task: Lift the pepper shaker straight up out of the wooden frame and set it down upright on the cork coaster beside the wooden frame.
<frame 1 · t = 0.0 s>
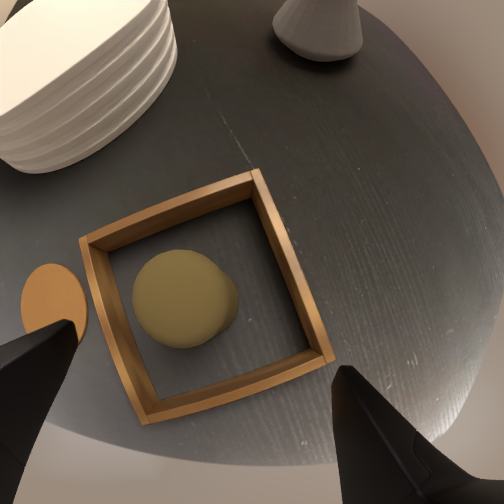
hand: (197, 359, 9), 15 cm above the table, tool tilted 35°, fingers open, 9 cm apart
plate stack: (77, 81, 28), on the table
pepper shaker: (203, 301, 24), resting in wooden frame
coaster: (52, 309, 23), on the table
wooden frame: (203, 301, 24), on the table
coffee pot: (293, 26, 31), on the table
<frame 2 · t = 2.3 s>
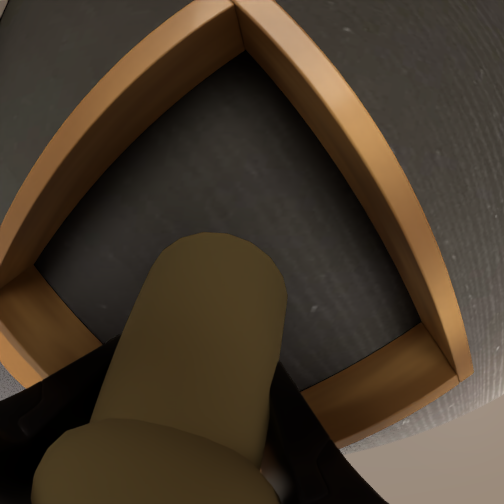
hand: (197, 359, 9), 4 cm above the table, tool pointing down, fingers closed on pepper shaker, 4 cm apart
pepper shaker: (215, 298, 12), resting in wooden frame, touching gripper
coaster: (26, 355, 15), on the table
wooden frame: (215, 300, 12), on the table
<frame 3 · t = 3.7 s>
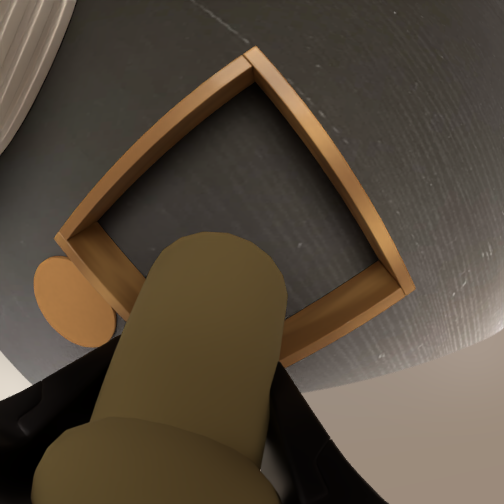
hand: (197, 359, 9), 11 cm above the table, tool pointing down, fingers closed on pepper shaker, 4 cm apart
pepper shaker: (215, 298, 12), point 7 cm above the table, touching gripper
coaster: (72, 303, 22), on the table
wooden frame: (234, 238, 19), on the table
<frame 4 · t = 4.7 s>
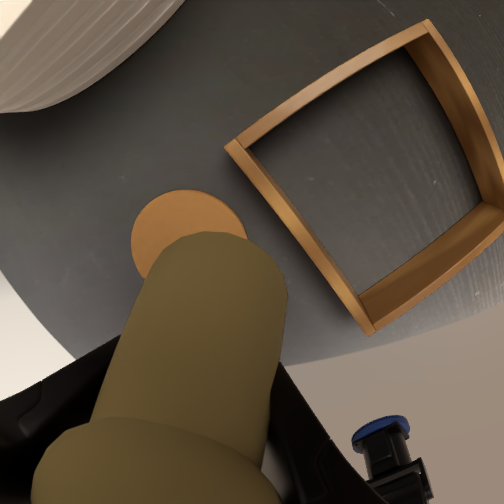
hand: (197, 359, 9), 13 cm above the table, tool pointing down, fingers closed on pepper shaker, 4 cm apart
pepper shaker: (216, 297, 12), point 9 cm above the table, touching gripper
coaster: (188, 250, 21), on the table
wooden frame: (388, 172, 18), on the table
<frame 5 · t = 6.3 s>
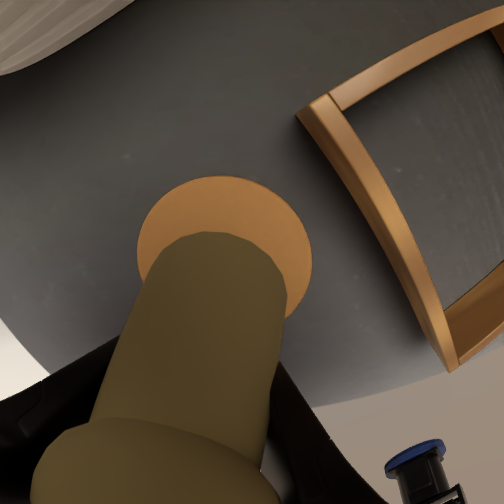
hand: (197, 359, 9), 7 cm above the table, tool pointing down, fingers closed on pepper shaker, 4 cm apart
pepper shaker: (215, 297, 12), point 3 cm above the table, touching gripper
coaster: (222, 264, 15), on the table
wooden frame: (479, 169, 12), on the table
when the fingers open (4 cm above the table, at t = 7.4 s): pepper shaker stays where it is, resting on coaster.
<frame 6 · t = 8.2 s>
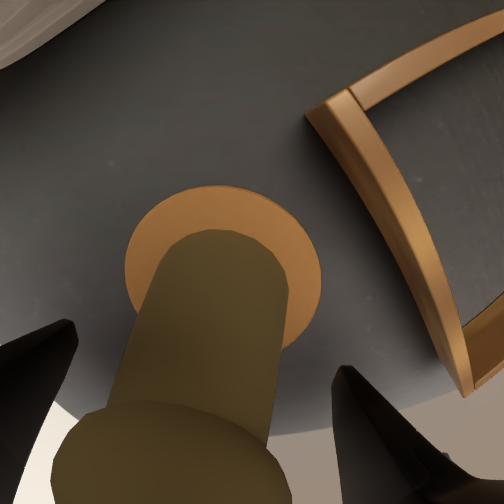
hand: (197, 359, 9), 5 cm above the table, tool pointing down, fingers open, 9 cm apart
pepper shaker: (220, 292, 13), resting on coaster
coaster: (219, 285, 13), on the table
wooden frame: (502, 178, 10), on the table
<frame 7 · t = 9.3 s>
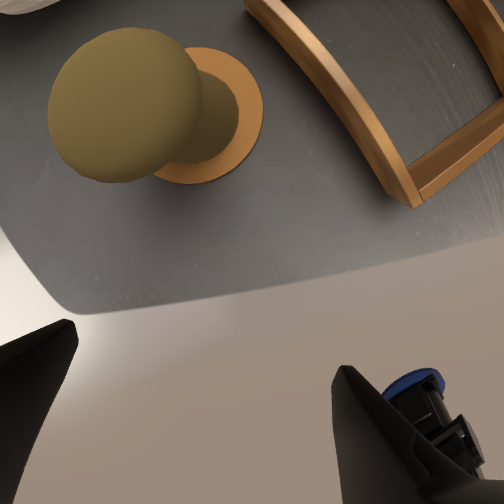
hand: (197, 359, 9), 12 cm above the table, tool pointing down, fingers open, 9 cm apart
pepper shaker: (190, 117, 16), resting on coaster
coaster: (190, 113, 17), on the table
wooden frame: (407, 45, 14), on the table
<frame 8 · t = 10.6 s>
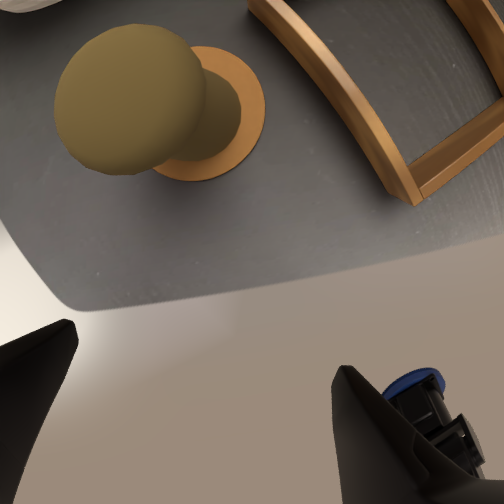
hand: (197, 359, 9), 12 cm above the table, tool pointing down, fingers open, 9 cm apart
pepper shaker: (193, 114, 17), resting on coaster
coaster: (193, 111, 17), on the table
wooden frame: (407, 46, 14), on the table
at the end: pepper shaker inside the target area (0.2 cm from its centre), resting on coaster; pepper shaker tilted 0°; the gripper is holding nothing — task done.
